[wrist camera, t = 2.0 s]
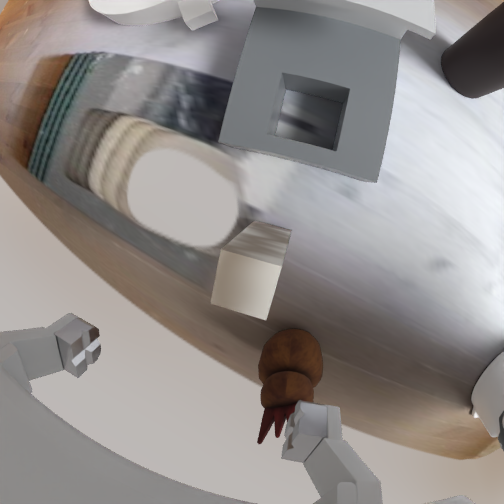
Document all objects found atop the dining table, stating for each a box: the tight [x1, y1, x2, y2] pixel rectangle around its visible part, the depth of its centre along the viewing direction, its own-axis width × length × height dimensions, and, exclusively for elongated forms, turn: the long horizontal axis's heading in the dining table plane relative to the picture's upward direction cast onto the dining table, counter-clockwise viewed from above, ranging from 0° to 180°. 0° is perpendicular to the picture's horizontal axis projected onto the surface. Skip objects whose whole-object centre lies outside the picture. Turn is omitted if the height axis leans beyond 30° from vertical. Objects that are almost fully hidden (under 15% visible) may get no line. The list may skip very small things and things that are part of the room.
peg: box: [211, 221, 292, 320], centre depth 23 cm, size 4×4×12 cm
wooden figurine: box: [257, 329, 323, 444], centre depth 25 cm, size 7×6×15 cm
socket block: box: [218, 0, 436, 183], centre depth 17 cm, size 14×16×14 cm
